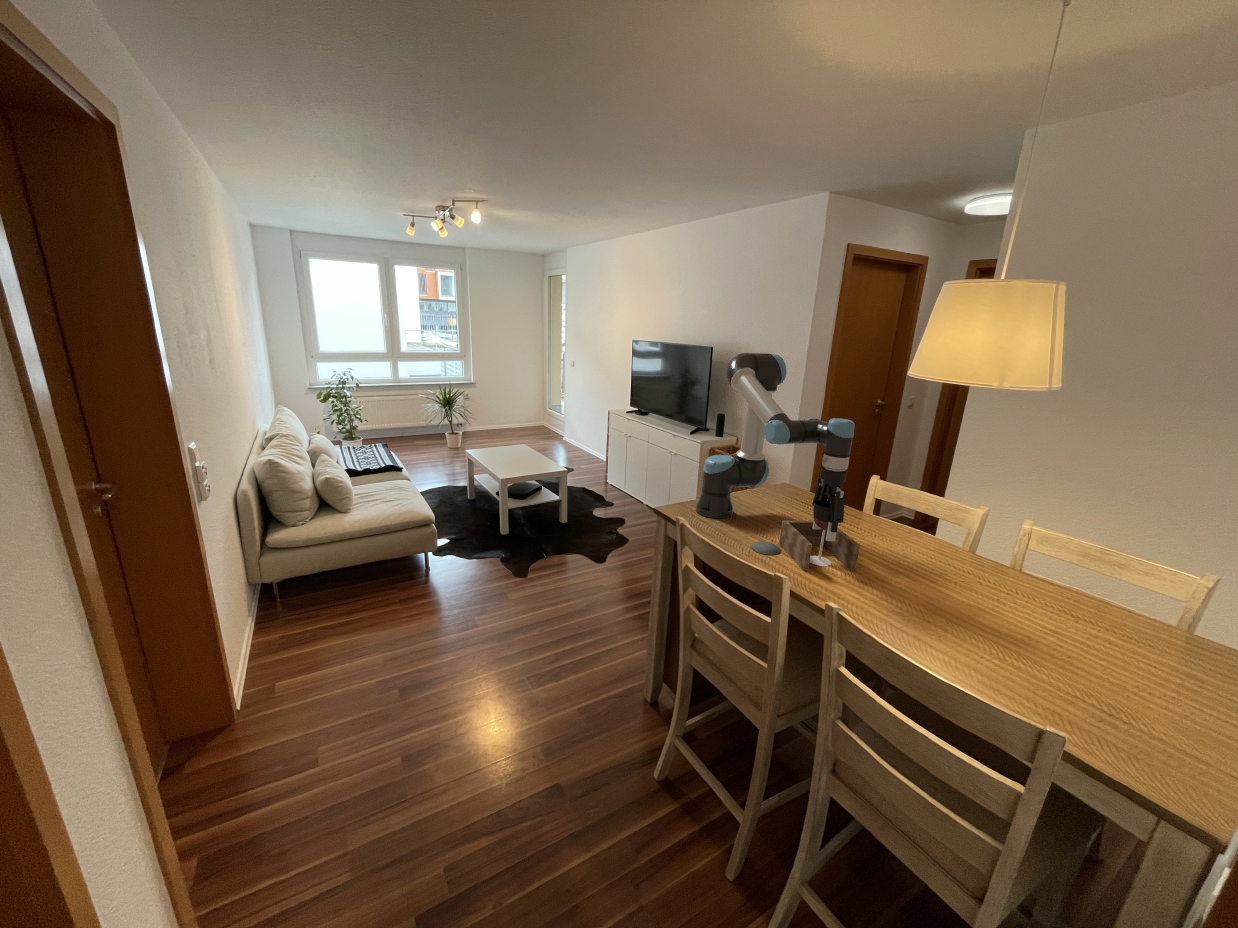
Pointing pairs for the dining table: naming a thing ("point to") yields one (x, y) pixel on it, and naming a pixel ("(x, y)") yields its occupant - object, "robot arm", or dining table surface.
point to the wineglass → (822, 520)
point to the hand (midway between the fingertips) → (823, 534)
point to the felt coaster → (765, 548)
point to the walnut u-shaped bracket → (816, 544)
